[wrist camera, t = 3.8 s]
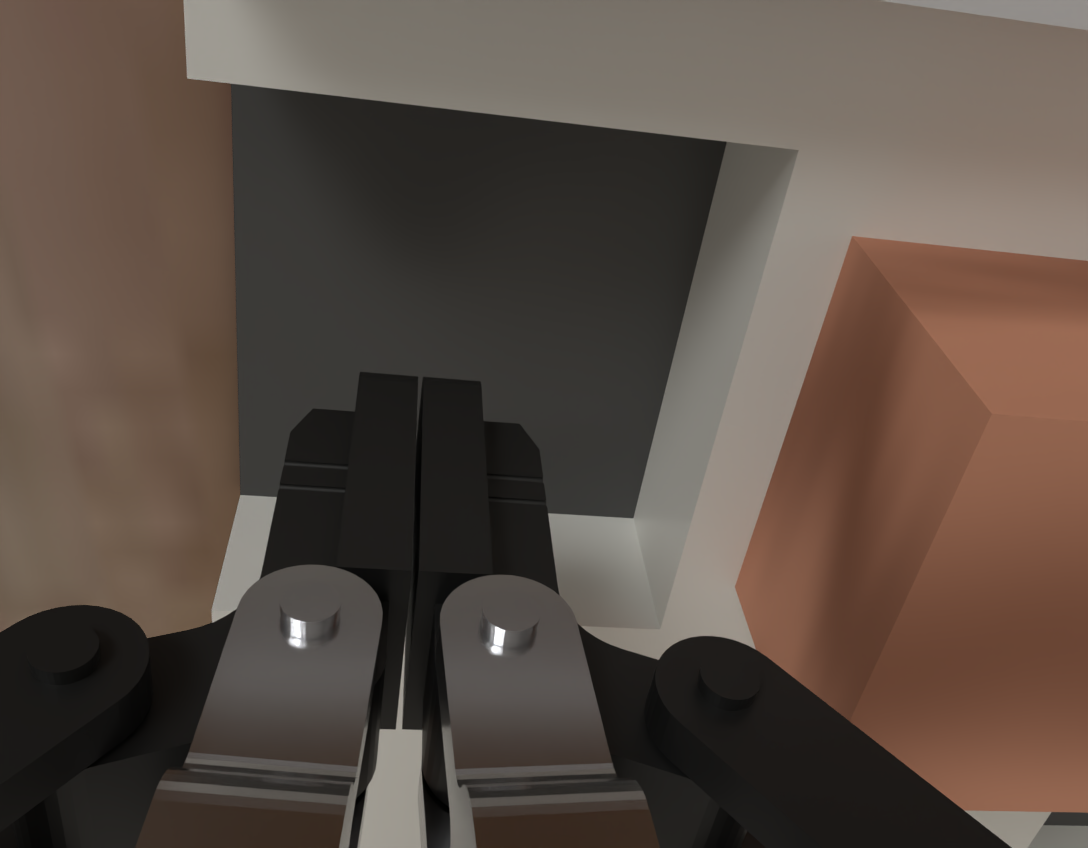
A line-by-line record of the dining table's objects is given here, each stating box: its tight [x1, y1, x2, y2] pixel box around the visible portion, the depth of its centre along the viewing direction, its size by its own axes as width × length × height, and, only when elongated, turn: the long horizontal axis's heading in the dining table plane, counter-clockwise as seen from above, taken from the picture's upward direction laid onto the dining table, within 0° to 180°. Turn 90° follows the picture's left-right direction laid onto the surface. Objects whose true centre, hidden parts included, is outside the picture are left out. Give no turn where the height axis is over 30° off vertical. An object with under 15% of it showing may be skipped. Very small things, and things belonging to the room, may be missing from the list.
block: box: [735, 236, 1088, 813], centre depth 13 cm, size 6×6×4 cm
